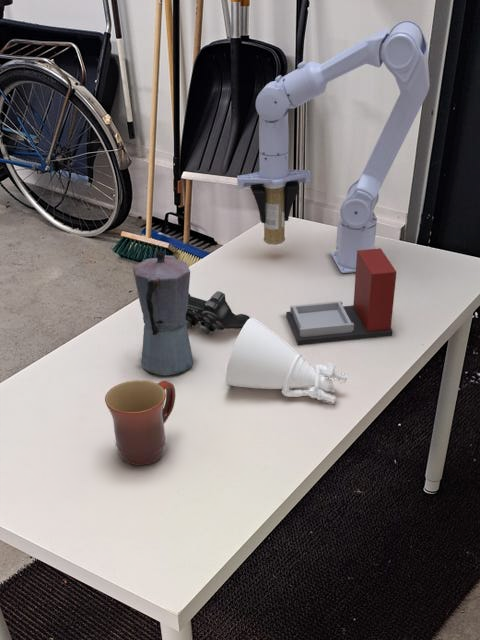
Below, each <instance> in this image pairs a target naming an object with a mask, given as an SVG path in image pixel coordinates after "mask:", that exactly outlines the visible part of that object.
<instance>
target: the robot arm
mask: <svg viewBox="0 0 480 640" xmlns="http://www.w3.org/2000/svg"><path fill="white" fill-rule="evenodd" d="M428 51H429V45H428V41H427V40H426V37H425V34H424V32H423V30H422V28H421V26H420V25H419V24H418V23H417V22H415V21H413V20H409V19H407V20H406V19H405V20H401V21H399V22H397V23H396V24H395V25H394V26H393V27H392V28H391V26H388V27H384V28H382V29H381V30H378V31H377V32H374V33H372V34H370V35H368V36H366V37H364V38H363V39H361V40H360V41H358V42H356V43H354V44H353V45H350V47H348V48H346V49H345V50H342V51H341V52H340V53H338V54H336V55H335V56H333V57H331V58H330V59H328V60H326V61H324V62H323V63H320V62H316V61H312V60H311V61H308V62H306V61H305V60H303V61H301V62H299V63H298V64H297V68H296V69H294V70H293V71H291V72H289V73H287V74H285V75H284V76H282V75H281V74H280V75H278V76H276V77H275V78H274V81H272V80H271V81H270V82H269V83H267V84H266V85H265V86H264V87H263V88H262V89H261V91H260V92H259V93H258V95H257V96H256V99H255V110H256V112H257V115H258V116H259V117H258V120H259V126H258V146H259V147H258V152H259V153H258V156H259V159H258V160H259V161H258V163H259V171H256V172H251V173H247V174H241V175H237V176H236V177H237V178H236V181H237V188H238V189H239V190H243V189H245V188H250V190H251V192H252V195H253V197H254V199H255V202H256V205H257V208H258V213H259V220H260V222H261V224H264V223H265V191H264V187H263V184H264V183H266V184H272V185H280V184H282V183H283V182H286V184H285V188H284V189H285V190H284V192H285V193H284V194H285V195H284V196H285V197H284V198H285V199H284V203H285V222H289V219H290V215H291V214H290V213H291V210H292V206H293V204H294V201H295V200H296V198H297V195H298V194H299V191H300V185H299V183H305V184H311V179H312V178H311V177H312V176H311V174H312V173H311V171H310V170H309V169H289V155H290V154H289V153H290V151H289V146H290V144H289V143H290V142H289V139H290V137H289V134H290V131H289V130H290V129H289V128H290V127H289V111H288V110H289V109H296V108H299V107H300V106H302V105H304V104H305V103H307V102H309V101H311V100H313V99H316V98H317V97H319V96H321V95H323V94H325V92H326V88H327V85H328V83H330V82H331V81H333V80H336V79H338V78H339V77H341V76H344V75H345V74H348V73H350V72H351V71H355V70H356V69H358V68H360V67H362V66H365V65H369V66H373V67H375V68H381V67H382V65H383V64H384V66H385V67H386V69H387V70H388V71H389V72H390V73H391V74H392V76H393V77H394V79H395V82H396V84H397V87H398V89H399V95H398V96H397V99H396V101H395V103H394V105H393V107H392V109H391V111H390V114H389V116H388V118H387V120H386V122H385V124H384V127H383V128H382V131H381V133H380V134H379V137H378V139H377V141H376V143H375V145H374V147H373V149H372V152H371V154H370V156H369V157H368V160H367V162H366V164H365V166H364V168H363V170H362V172H361V174H360V176H359V177H358V179H357V180H356V181H355V182H353V183H352V184H351V185H350V187H349V189H348V191H347V194H346V197H345V199H344V200H343V202H342V204H341V206H340V209H339V214H340V219H339V221H338V223H337V226H336V242H335V245H336V246H335V251H333V252H331V254H330V255H331V258H332V259H333V261H334V262H335V264H336V267H337V268H338V270H339V271H340V273H341V274H348V273H349V274H350V273H351V274H352V273H356V260H357V250H368V249H375V246H376V233H377V222H378V218H377V217H376V213H375V212H374V210H375V207H376V206H377V204H378V202H379V198H380V197H379V196H380V195H379V192H380V190H381V188H382V186H383V184H384V181H385V179H386V177H387V176H388V174H389V171H390V169H391V167H392V165H393V164H394V161H395V159H396V158H397V156H398V153H399V151H400V149H401V147H402V145H403V143H404V142H405V140H406V138H407V136H408V133H409V131H410V130H411V127H412V125H413V124H414V122H415V119H416V117H417V115H418V114H419V112H420V110H421V108H422V106H423V104H424V101H425V100H426V97H427V95H428V93H429V91H430V87H431V85H430V84H431V83H430V70H429V69H430V68H429V52H428Z"/></svg>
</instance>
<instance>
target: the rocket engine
mask: <svg viewBox="0 0 480 640" xmlns="http://www.w3.org/2000/svg"><path fill="white" fill-rule="evenodd" d="M336 366H337V364H335V363H334V362H332V361H329V363H328V365H327V366H326V365H325V364H315V366H314V368H313V367H312V366H311V364H310V363H309V362H307V360H306V358H304V357H303V354H302V353H299V352H298V351H296V350H295V349H294V347H293V346H292V345H290V344H289V343H288V342H287V341H286V340H285V339H283V338H282V337H281V336H280V335H278V334H277V333H276V332H275V331H273V330H272V329H271V328H269V327H268V326H267V325H265V324H263V323H262V322H261V321H259V320H257V319H256V318H254V317H252V316H250V318H249V319H248V320H247V322H246V323H245V324H244V326H243V328H242V329H240V332H239V333H238V336H237V338H236V340H235V343H234V345H233V347H232V350H231V353H230V356H229V359H228V363H227V368H226V373H225V383H226V385H227V386H231V387H237V388H246V389H247V388H248V389H262V390H281V393H282V395H283V396H284V397H289V398H291V397H295V398H297V397H299V398H300V397H302V396H305V397H306V396H309V397H310V398H311V399H316V400H319V401H323V403H328V405H333V404H334V403H335V401H336V399H337V397H336V395H334V394H331V393H335V390H336V389H335V383H333V382H336V381H338V382H339V383H340V384H345V383H346V382H347V380H348V377H349V375H347V374H346V373H343V372H340V371H339V370H335V369H336V368H337V367H336ZM333 380H334V381H333ZM309 387H310V388H309ZM302 388H307V389H303V390H302ZM308 388H309V389H308ZM292 389H293V390H292ZM328 392H330V393H328Z"/></svg>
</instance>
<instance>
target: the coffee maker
mask: <svg viewBox="0 0 480 640" xmlns="http://www.w3.org/2000/svg"><path fill="white" fill-rule="evenodd" d="M354 276H355V277H354V290H353V294H354V295H353V304H352V305H343V301H342V300H336V301H327V302H316V303H306V304H296V305H289V306H290V307H289V308H290V309H289V310H290V311H286V312H285V317H286V320H287V321H288V325H289V327H290V329H291V332H292V335H293V336H294V339H295V341H296V344H297V346H303V345H304V346H305V345H312V344H314V345H315V344H324V343H333V342H334V343H335V342H342V341H352V340H353V341H354V340H364V339H373V338H374V339H375V338H383V337H393V329H392V320H393V311H394V310H393V309H394V301H395V291H396V282H397V281H396V280H397V270H396V269H395V267H394V266H393V265H392V263H391V262H390V260H389V258H388V257H387V255H386V254H385V252H384V251H383V249H382V248H374V249H368V250H357V260H356V272H355V275H354Z"/></svg>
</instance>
